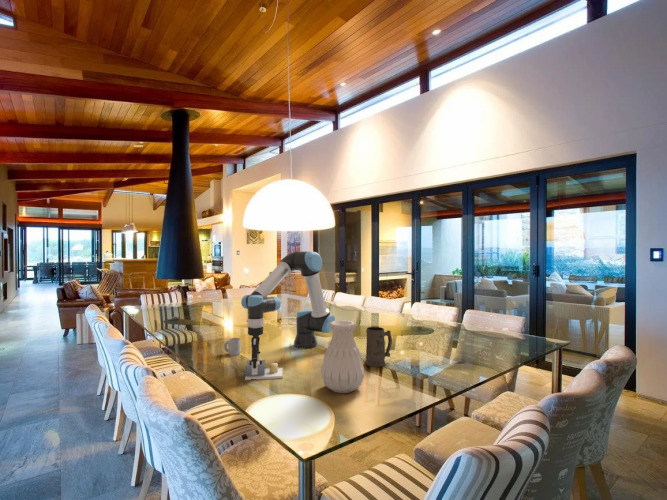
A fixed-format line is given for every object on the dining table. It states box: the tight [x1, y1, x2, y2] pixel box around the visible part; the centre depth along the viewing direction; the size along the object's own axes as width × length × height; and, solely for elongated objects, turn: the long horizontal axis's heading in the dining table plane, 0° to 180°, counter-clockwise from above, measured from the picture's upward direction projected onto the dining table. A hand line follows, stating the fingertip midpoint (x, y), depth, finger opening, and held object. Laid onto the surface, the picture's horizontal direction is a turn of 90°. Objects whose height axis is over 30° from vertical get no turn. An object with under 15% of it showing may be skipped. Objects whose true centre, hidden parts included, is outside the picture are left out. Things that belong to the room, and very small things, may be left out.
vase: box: [320, 319, 366, 394], centre depth 163 cm, size 20×20×30 cm
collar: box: [245, 359, 266, 376], centre depth 180 cm, size 9×9×5 cm
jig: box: [244, 361, 284, 381], centre depth 180 cm, size 18×12×7 cm, turn 98°
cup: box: [223, 337, 242, 357], centre depth 216 cm, size 7×10×9 cm
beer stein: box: [365, 326, 393, 368], centre depth 199 cm, size 15×11×20 cm
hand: (255, 370), depth 180 cm, fingers open, 10 cm apart
